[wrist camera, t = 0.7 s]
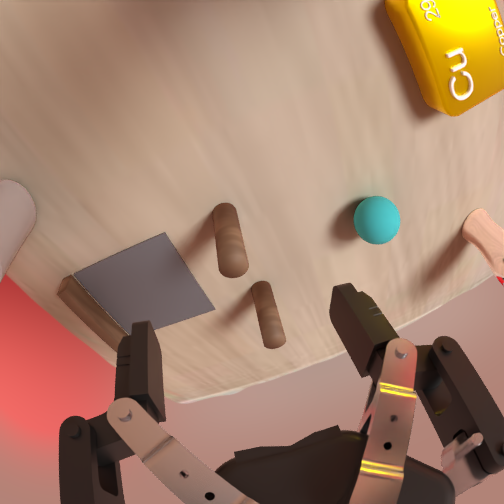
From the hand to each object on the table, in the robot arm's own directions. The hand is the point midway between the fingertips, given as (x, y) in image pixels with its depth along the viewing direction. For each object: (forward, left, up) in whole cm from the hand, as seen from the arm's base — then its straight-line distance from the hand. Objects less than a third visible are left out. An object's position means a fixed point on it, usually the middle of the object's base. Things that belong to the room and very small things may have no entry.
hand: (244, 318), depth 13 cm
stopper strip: (+24, +13, -21) cm, 35 cm away
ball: (-14, +13, -18) cm, 27 cm away
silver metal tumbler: (-34, +24, -21) cm, 47 cm away
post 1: (+2, +7, -21) cm, 22 cm away
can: (+24, -6, -21) cm, 32 cm away
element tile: (-30, -5, -22) cm, 38 cm away
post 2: (+2, +20, -21) cm, 29 cm away
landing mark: (+16, +13, -21) cm, 29 cm away
